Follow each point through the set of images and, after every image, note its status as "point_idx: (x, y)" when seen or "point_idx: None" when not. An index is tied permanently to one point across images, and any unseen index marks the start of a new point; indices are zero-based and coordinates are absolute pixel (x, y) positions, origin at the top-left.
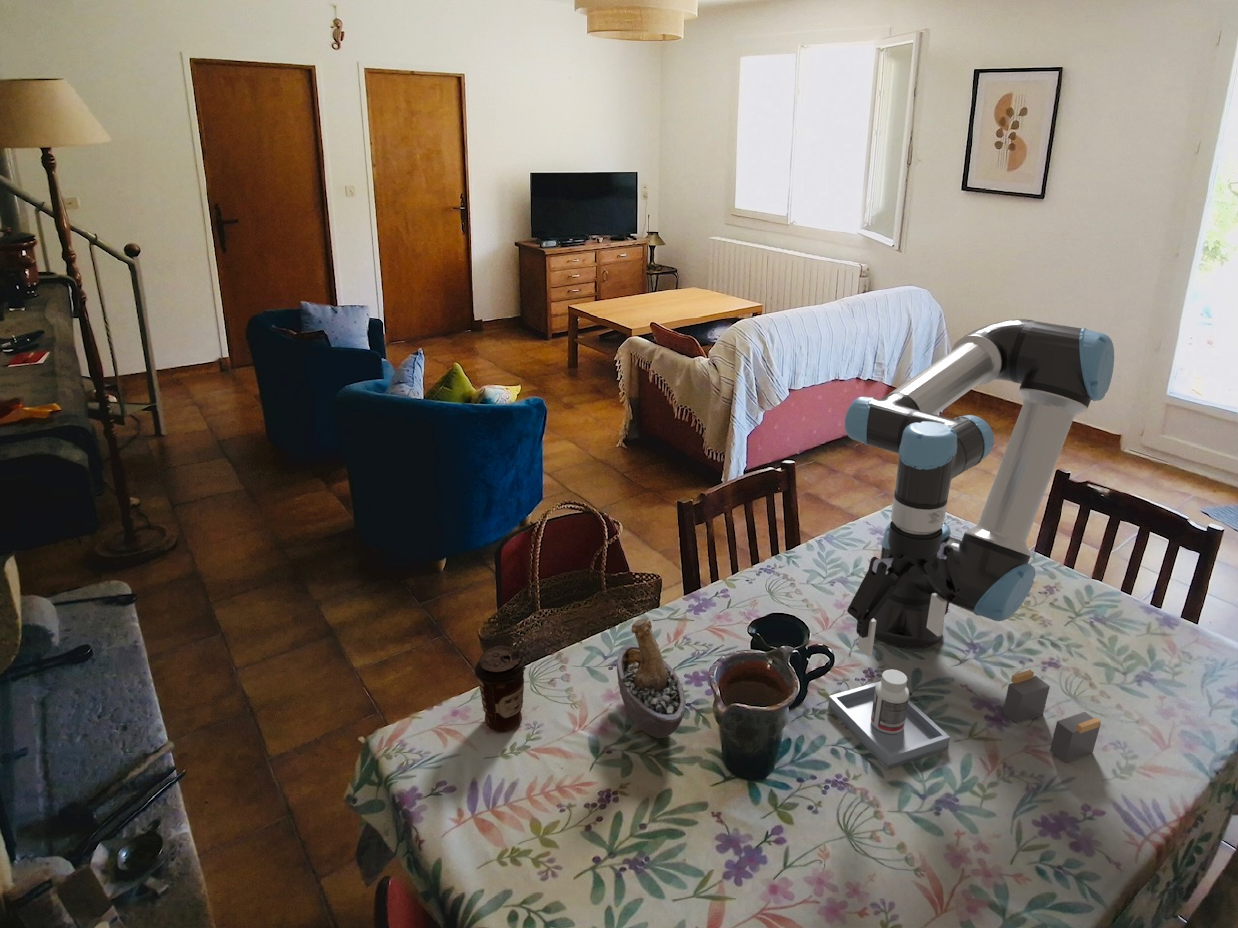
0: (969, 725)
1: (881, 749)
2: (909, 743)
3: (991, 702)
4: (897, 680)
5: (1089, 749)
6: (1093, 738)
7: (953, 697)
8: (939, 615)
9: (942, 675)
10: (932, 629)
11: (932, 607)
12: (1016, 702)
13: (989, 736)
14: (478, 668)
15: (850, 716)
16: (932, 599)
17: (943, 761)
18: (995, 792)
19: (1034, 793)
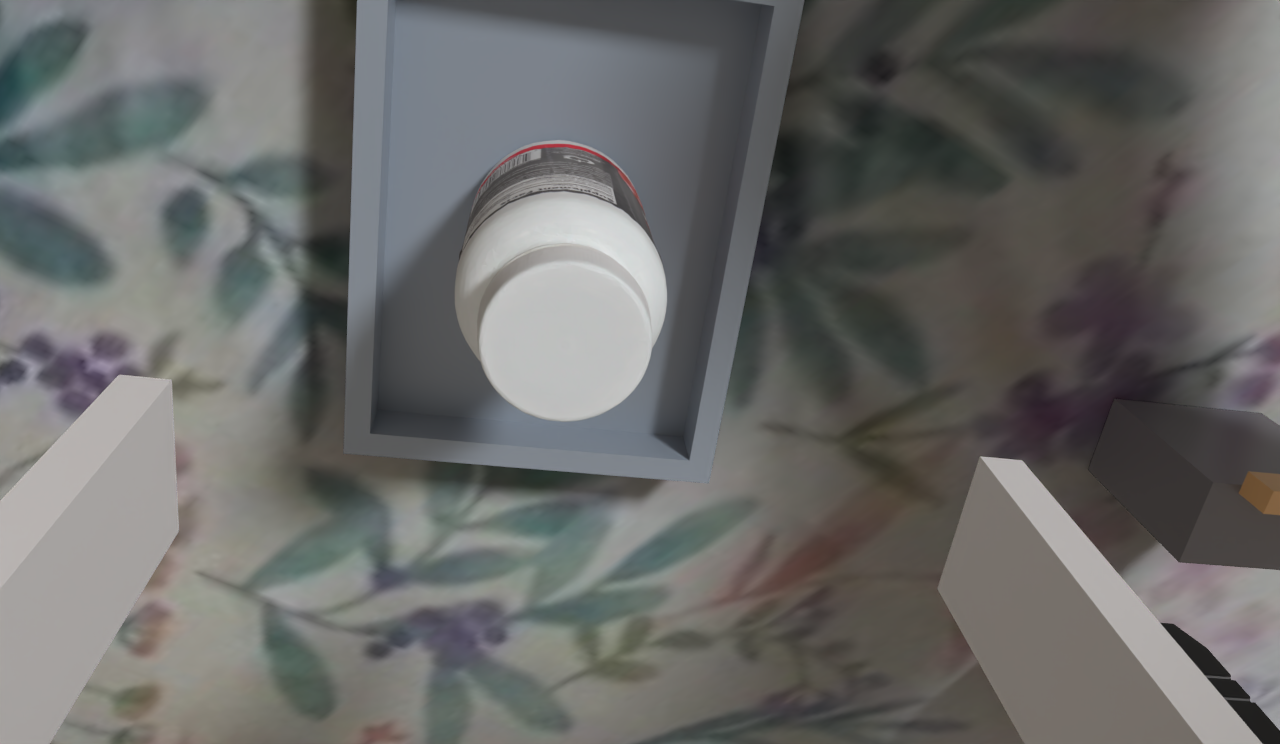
0: (914, 388)
1: (345, 398)
2: None
3: (1145, 328)
4: (551, 382)
5: None
6: None
7: (1040, 213)
8: (1033, 735)
9: (1169, 49)
10: (967, 543)
11: (1090, 660)
12: (1149, 505)
13: (920, 471)
14: None
15: (358, 135)
16: (1155, 719)
17: (620, 487)
18: (659, 668)
19: (776, 721)
